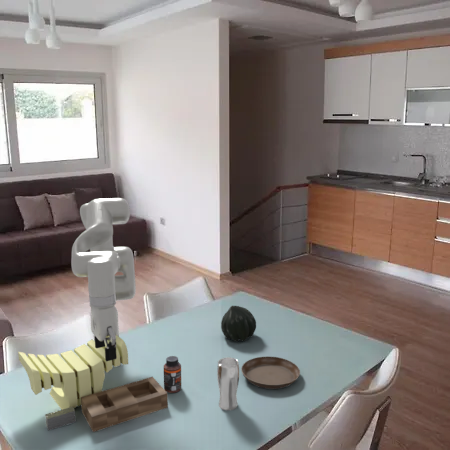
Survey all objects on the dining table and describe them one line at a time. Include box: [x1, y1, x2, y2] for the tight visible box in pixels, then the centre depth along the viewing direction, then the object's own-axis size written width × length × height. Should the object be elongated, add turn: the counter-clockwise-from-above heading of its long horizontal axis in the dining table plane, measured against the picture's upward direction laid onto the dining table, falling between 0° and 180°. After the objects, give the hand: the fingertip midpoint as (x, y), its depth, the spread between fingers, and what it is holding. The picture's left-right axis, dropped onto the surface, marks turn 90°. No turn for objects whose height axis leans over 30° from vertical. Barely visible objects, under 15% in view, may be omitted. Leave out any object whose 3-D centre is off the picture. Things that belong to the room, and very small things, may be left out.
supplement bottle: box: [163, 355, 182, 394], centre depth 163 cm, size 6×6×11 cm
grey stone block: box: [44, 406, 77, 431], centre depth 145 cm, size 3×8×4 cm, turn 121°
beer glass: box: [216, 356, 240, 411], centre depth 153 cm, size 7×7×15 cm
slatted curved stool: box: [17, 335, 129, 410], centre depth 158 cm, size 30×16×18 cm, turn 128°
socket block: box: [81, 376, 169, 433], centre depth 152 cm, size 12×24×5 cm, turn 121°
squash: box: [220, 305, 257, 342], centre depth 202 cm, size 14×15×15 cm
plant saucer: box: [240, 356, 301, 390], centre depth 172 cm, size 21×21×3 cm
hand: (105, 353), depth 145 cm, fingers open, 9 cm apart
